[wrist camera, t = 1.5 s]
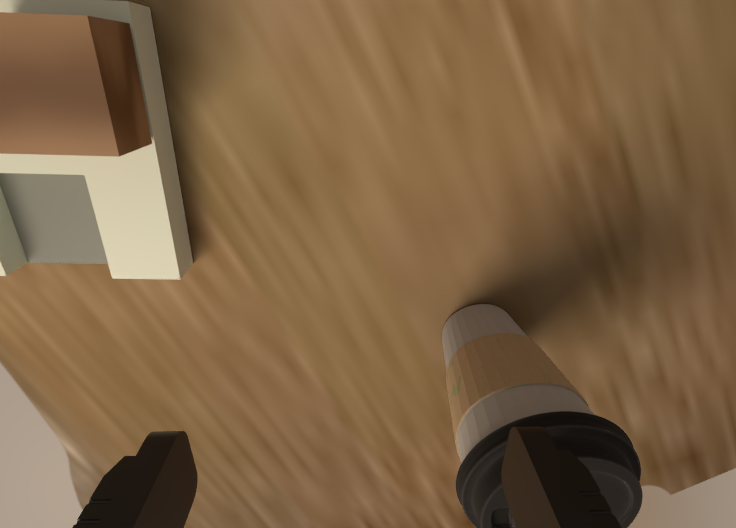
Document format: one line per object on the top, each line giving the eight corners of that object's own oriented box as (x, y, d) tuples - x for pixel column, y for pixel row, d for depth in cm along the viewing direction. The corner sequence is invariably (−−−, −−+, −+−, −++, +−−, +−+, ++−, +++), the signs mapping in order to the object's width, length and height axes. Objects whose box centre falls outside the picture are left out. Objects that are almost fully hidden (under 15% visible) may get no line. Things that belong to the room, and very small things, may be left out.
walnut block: (12, 19, 21) (-58, 10, 18) (132, 23, 21) (87, 15, 18) (48, 139, 24) (-7, 153, 20) (154, 142, 24) (119, 156, 20)
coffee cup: (398, 324, 33) (428, 503, 20) (502, 260, 31) (618, 413, 17) (457, 395, 37) (518, 589, 23) (555, 342, 34) (685, 523, 21)
